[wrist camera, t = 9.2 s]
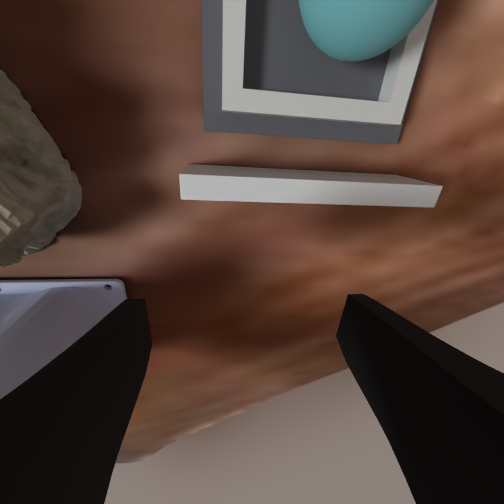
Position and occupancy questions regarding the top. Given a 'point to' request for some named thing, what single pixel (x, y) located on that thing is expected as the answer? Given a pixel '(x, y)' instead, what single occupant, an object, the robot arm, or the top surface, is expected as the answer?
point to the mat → (301, 76)
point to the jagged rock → (30, 180)
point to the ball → (360, 25)
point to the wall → (304, 186)
